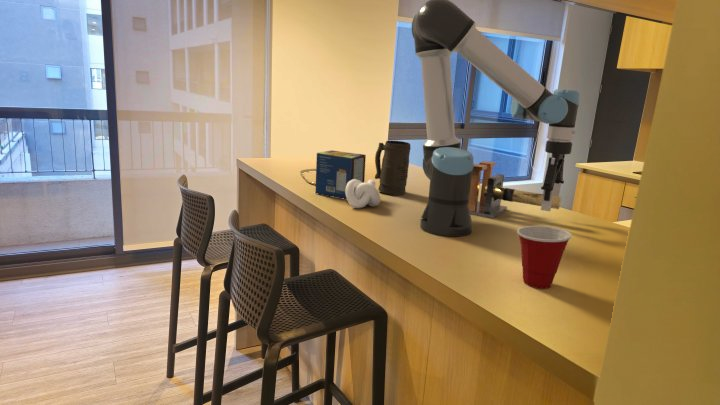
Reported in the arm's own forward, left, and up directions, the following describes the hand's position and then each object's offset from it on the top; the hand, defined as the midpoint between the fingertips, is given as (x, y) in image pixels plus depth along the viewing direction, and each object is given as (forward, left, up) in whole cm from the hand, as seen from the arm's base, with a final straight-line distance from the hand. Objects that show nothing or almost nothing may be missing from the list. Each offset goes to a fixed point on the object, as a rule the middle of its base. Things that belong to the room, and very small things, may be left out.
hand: (549, 206), depth 149 cm
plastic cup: (-55, -8, -6) cm, 56 cm away
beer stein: (+2, +60, -6) cm, 60 cm away
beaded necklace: (+5, +93, -6) cm, 94 cm away
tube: (0, +9, 0) cm, 9 cm away
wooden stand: (0, +23, -5) cm, 24 cm away
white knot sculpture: (-25, +56, -6) cm, 62 cm away
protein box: (-16, +71, -6) cm, 73 cm away
